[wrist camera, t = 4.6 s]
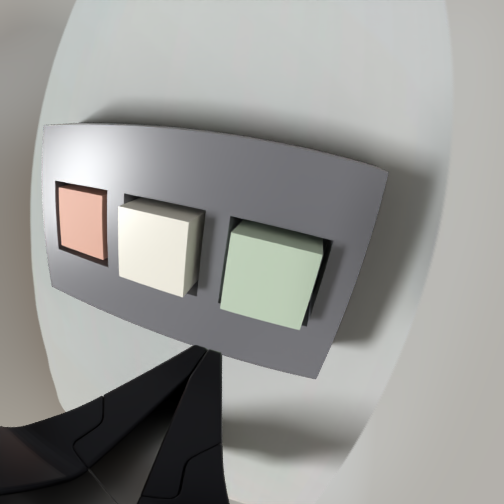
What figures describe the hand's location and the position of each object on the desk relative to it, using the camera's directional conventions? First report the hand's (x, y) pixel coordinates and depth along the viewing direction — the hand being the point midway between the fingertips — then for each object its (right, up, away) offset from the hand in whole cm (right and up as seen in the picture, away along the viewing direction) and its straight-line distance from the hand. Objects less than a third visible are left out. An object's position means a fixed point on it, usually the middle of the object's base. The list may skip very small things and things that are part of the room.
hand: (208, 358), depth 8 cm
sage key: (+3, +3, +7) cm, 8 cm away
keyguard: (-3, +5, +10) cm, 11 cm away
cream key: (-3, +4, +8) cm, 10 cm away
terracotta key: (-9, +6, +10) cm, 14 cm away
